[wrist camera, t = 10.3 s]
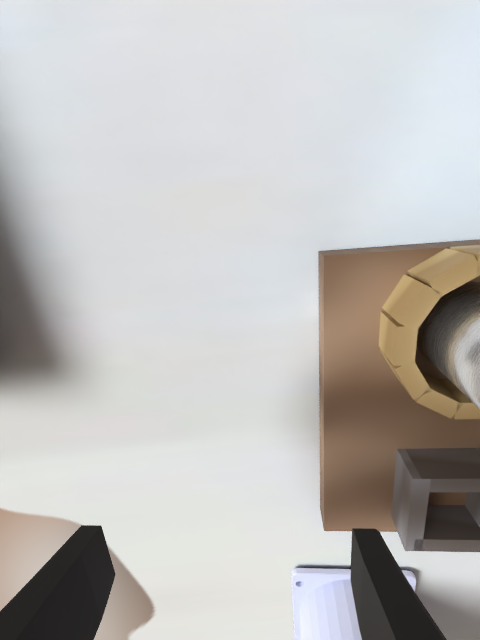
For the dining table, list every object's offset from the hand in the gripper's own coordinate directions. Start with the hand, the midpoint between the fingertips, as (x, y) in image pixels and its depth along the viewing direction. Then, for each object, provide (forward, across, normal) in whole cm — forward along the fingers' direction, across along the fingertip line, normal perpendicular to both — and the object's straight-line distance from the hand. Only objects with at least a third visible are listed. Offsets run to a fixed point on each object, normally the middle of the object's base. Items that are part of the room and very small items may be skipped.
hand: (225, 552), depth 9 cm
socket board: (+9, -10, +1) cm, 14 cm away
